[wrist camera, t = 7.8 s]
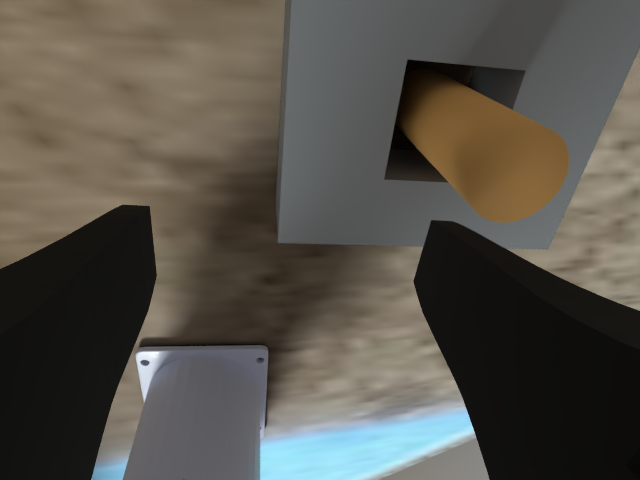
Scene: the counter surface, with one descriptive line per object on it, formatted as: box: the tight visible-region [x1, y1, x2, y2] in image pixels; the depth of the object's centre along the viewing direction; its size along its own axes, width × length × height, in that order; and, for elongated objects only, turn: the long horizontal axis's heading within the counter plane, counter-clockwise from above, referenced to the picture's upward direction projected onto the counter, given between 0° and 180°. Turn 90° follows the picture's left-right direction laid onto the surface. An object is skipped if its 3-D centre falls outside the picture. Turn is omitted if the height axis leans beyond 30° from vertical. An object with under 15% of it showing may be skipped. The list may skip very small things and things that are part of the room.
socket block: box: [276, 0, 640, 249], centre depth 18 cm, size 11×13×4 cm
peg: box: [395, 68, 569, 223], centre depth 16 cm, size 3×3×9 cm
